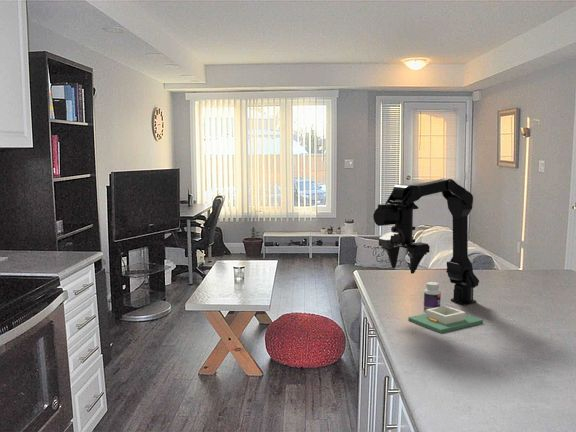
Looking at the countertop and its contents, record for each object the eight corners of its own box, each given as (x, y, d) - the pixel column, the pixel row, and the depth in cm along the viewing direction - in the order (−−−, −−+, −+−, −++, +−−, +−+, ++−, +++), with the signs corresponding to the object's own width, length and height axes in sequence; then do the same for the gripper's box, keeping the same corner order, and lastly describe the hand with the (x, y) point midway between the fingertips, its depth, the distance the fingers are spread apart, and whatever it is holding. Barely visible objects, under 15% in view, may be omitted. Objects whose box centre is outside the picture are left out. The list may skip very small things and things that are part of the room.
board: (449, 311, 182) (449, 301, 181) (482, 323, 170) (483, 312, 169) (408, 320, 173) (408, 309, 173) (440, 333, 161) (440, 321, 161)
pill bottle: (440, 314, 179) (441, 285, 178) (423, 313, 180) (424, 285, 179) (439, 309, 184) (440, 281, 183) (423, 308, 185) (423, 281, 184)
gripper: (366, 222, 180) (365, 268, 182) (403, 229, 164) (402, 279, 166) (392, 219, 185) (391, 264, 187) (431, 226, 169) (430, 275, 171)
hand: (402, 270), depth 178 cm, fingers open, 9 cm apart
